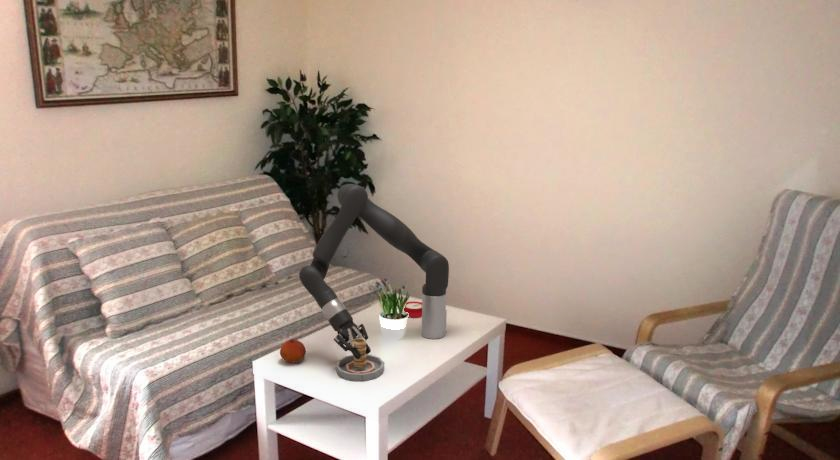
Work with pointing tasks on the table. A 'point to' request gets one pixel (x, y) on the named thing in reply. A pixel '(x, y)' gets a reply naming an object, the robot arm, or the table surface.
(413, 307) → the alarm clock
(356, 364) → the bead stack
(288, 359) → the fruit
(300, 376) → the table surface
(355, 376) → the round tray
